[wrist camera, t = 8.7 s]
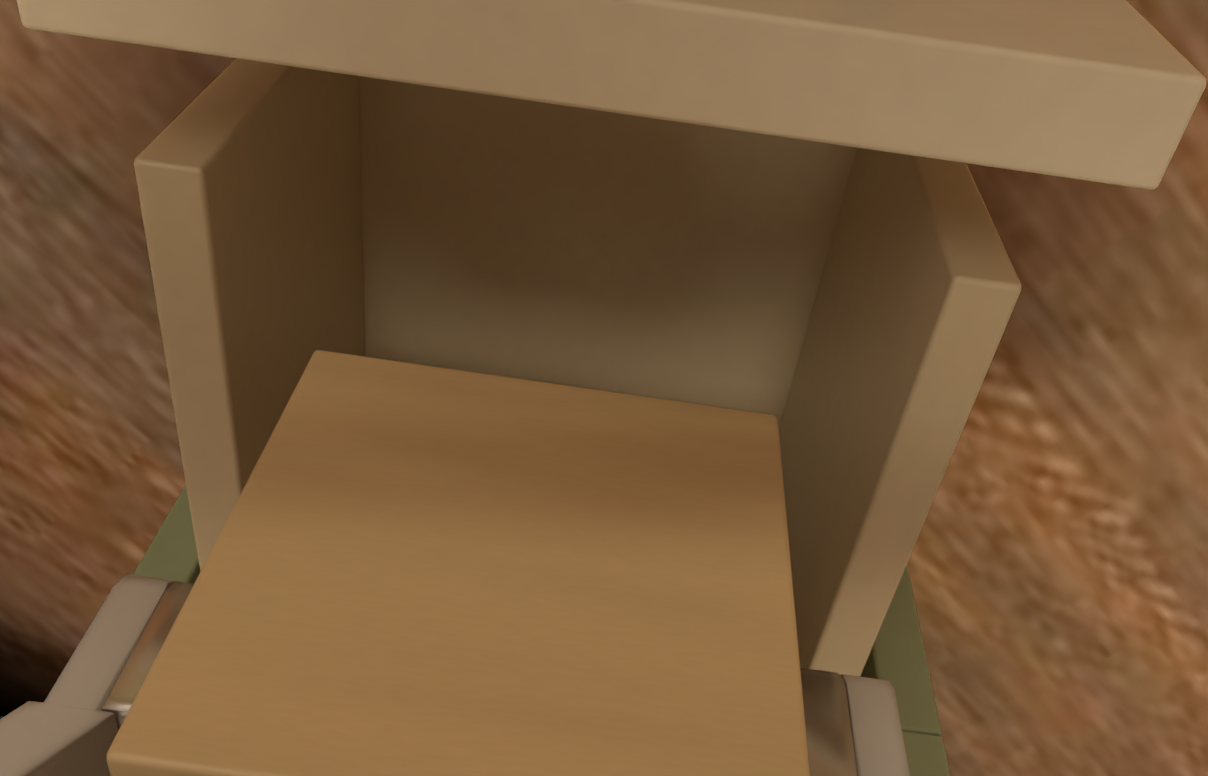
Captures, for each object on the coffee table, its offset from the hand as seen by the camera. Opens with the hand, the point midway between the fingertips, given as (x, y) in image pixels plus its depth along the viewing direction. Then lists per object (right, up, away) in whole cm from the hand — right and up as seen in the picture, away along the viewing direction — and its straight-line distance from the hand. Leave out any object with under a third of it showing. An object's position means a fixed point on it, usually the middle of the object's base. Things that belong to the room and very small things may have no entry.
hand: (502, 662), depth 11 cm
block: (0, +1, +1) cm, 2 cm away
